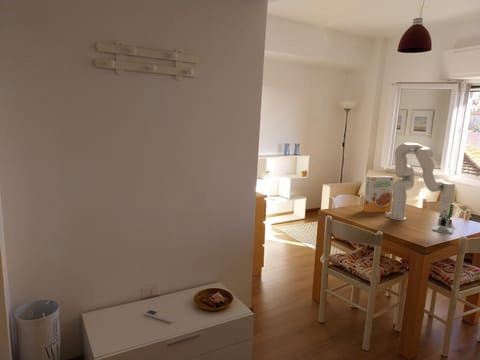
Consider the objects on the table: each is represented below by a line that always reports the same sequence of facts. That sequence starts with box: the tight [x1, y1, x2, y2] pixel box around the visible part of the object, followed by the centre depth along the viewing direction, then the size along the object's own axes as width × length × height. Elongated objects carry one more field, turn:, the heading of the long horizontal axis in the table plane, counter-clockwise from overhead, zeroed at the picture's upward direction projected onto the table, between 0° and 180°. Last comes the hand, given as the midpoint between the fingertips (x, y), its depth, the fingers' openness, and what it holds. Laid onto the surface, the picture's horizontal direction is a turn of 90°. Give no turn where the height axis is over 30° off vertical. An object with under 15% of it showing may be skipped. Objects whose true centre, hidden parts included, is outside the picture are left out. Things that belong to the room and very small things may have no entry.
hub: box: [437, 216, 451, 228], centre depth 245 cm, size 7×7×5 cm
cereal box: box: [362, 175, 395, 213], centre depth 292 cm, size 22×6×30 cm, turn 104°
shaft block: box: [432, 224, 454, 235], centre depth 245 cm, size 12×12×10 cm
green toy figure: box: [438, 201, 455, 225], centre depth 265 cm, size 10×9×20 cm
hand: (443, 224), depth 245 cm, fingers closed on hub, 6 cm apart
